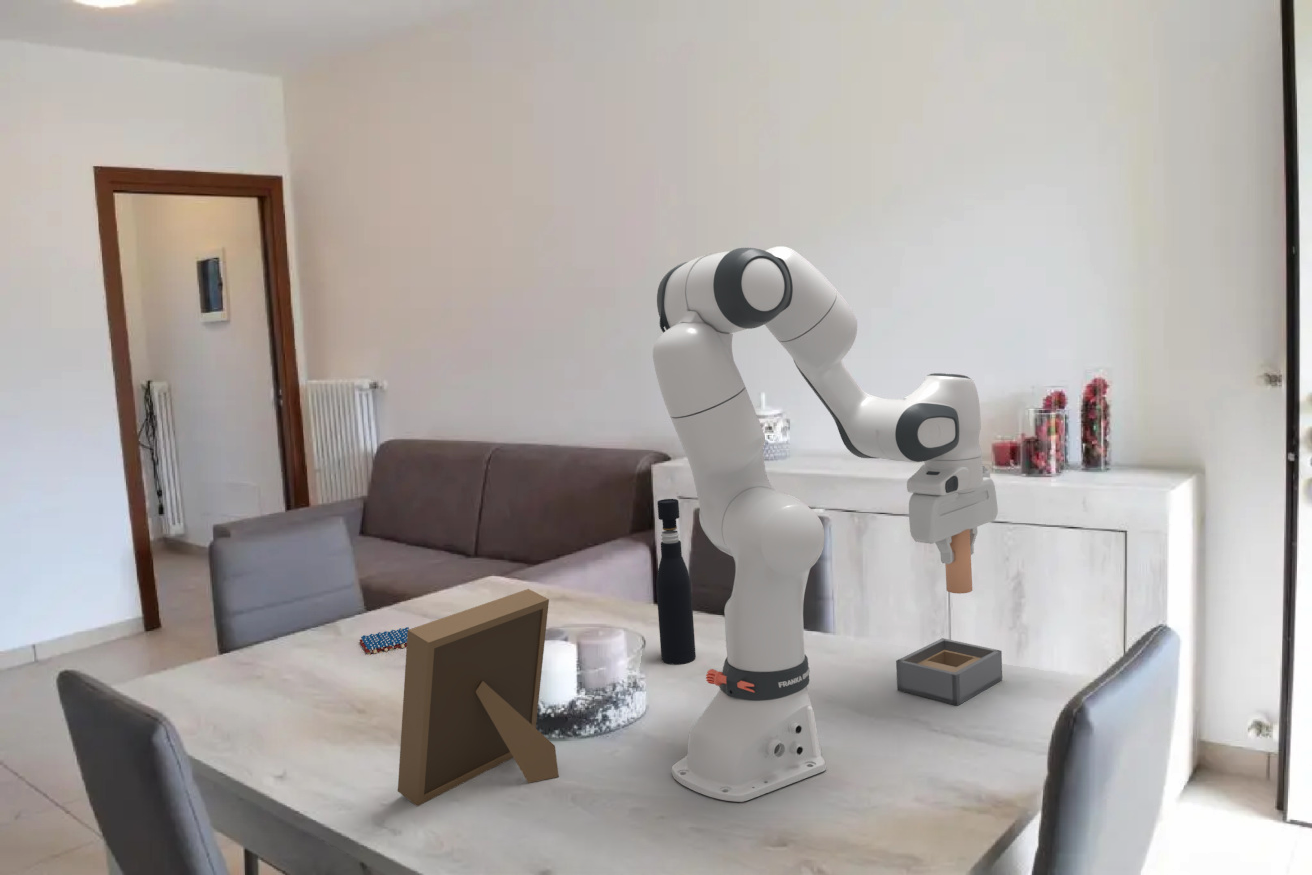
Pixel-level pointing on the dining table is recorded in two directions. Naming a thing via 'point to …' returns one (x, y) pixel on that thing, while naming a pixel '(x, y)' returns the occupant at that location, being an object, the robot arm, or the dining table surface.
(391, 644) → the woven mat
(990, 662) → the bore box
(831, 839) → the dining table surface
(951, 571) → the peg
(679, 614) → the black bottle
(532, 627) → the photo frame
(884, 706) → the dining table surface
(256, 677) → the dining table surface
